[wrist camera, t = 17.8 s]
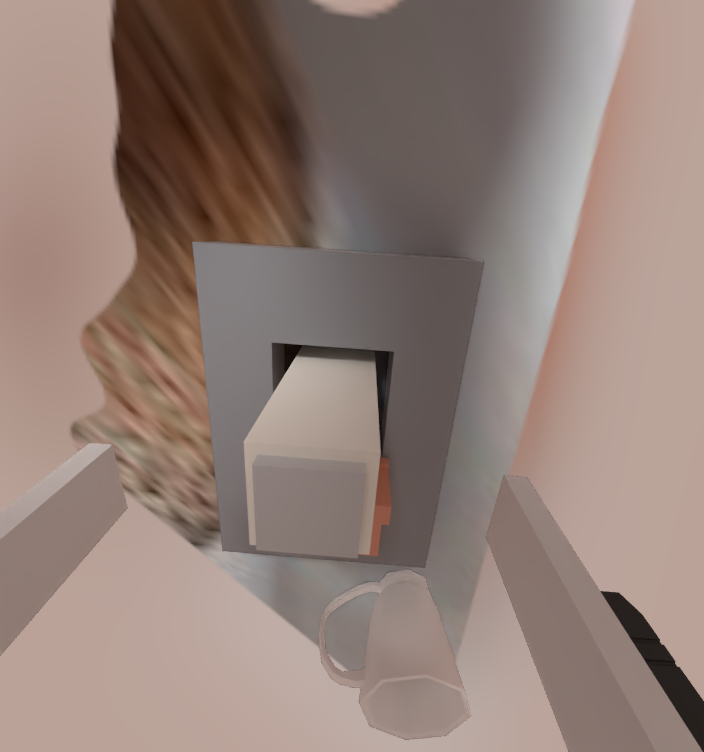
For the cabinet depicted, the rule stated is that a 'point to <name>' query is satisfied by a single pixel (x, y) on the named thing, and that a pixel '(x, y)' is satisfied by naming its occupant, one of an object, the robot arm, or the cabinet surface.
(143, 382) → the cabinet surface
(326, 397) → the plug
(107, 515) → the robot arm
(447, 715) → the cup
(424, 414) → the socket
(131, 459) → the cabinet surface
